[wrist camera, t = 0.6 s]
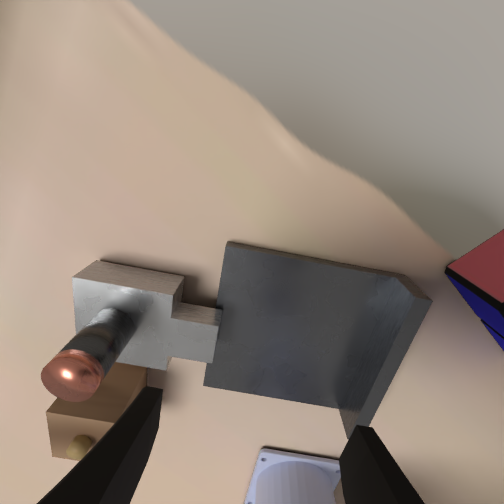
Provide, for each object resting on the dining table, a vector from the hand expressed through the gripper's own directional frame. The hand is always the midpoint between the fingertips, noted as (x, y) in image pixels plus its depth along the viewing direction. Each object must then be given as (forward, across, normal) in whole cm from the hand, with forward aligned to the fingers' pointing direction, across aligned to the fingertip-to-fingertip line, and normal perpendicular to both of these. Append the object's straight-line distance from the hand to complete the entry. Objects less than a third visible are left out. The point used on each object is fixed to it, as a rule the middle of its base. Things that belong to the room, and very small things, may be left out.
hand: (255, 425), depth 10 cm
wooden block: (+10, +10, +11) cm, 17 cm away
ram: (+10, +7, +3) cm, 12 cm away
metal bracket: (+10, -3, +3) cm, 11 cm away
